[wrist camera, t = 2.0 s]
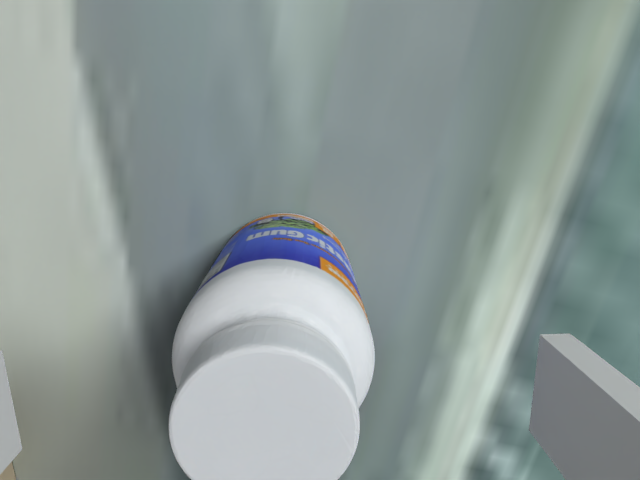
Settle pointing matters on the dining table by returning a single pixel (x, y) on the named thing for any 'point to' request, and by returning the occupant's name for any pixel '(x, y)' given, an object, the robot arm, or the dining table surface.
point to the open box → (8, 473)
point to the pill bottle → (272, 358)
